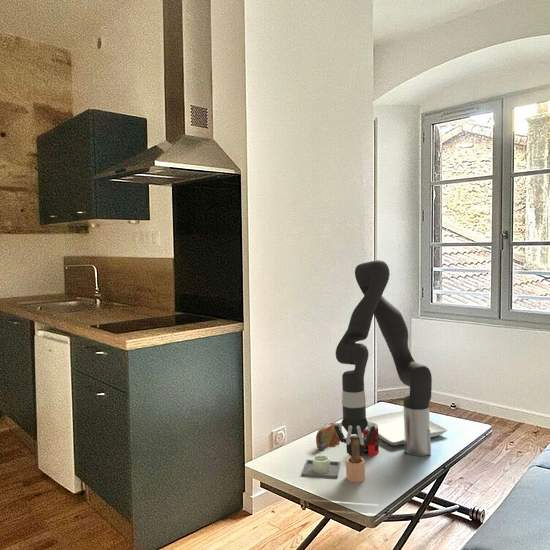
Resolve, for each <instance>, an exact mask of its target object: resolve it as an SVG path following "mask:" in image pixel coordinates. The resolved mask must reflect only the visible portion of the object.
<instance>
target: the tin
mask: <svg viewBox="0 0 550 550" xmlns="http://www.w3.org/2000/svg"><path fill="white" fill-rule="evenodd" d="M336 423H337V422H330V423H329V424H327V425H325V426H323V427H322V428H319V430H318V432H317V433H316V436H315V437H316V438H315V443H316V447H317V449H318V450H321V451H325V450H326V449H328V448H334V447H336V446H338V445H339V444H340V442H341V441H340V439H339V437H338V435H337V432H336V430H335V428H334V427H335V424H336ZM341 431H342V432H343V428H342V429H341Z"/></svg>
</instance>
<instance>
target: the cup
mask: <svg viewBox="0 0 550 550" xmlns="http://www.w3.org/2000/svg"><path fill="white" fill-rule="evenodd" d="M365 462H366V461H365V459H364V458H363V457H361V462H360V463H351V456H349V457H346V458H345V472H346V473H345V474H346V475H345V477H346V480H347V481H349V482H351V483H362V482H364V481H365V480H366V463H365Z"/></svg>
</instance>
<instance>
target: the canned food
mask: <svg viewBox="0 0 550 550" xmlns="http://www.w3.org/2000/svg"><path fill="white" fill-rule="evenodd" d="M368 423H369V424H371V425H372V424H374V425H375V431H374V433H373V436H372V438H371V440H370V443H367V444H365V453H364V454H363V457H364V456H366V457H371V456H372V457H373V456H377V455H378V454H379V450H380V449H379V447H380V446H379V445H380V443H379V437H378V425H377V424H376V423H372V422H368ZM368 433H369V431H368V427H366V428H365V430H364V431H363V436H364V439H365V438H367V436H368ZM357 436H358V435H357Z"/></svg>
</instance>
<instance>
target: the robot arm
mask: <svg viewBox="0 0 550 550" xmlns="http://www.w3.org/2000/svg"><path fill="white" fill-rule="evenodd" d="M390 273H391V272H390V268H389V265H388V264H387V263H386V262H385V261H384V260H382V259H381V260H380V259H376V260H371V261H366V262H363V263H360V264H358V265H357V266H355V270H354V276H355V280H356V283H357V285H358V287H359V289H360V291H361V293H362V295H363V297H362V299H360V301H359V302H358V303H357V305H356V307H355V308H354V310H353V311H352V314H351V316H350V320H349V322H348V325H347V329H346V330H345V332H344V334H343V336H342V337H341V339H340V340H339V342H338V344H337V346H336V348H335V357H336V360H337V361H338V363H340V364H342V365H350V366H354V369H353V370H351V369H350V370H346V371H344V372H343V373H342V375H341V381H342V384H341V386H342V387H341V389H342V394H341V399H342V400H341V404H342V406H341V407H342V420H341V422H339V423H337V422H335V423H336V424H335V427H334V428H335V430H336V432H337V435H338V437H339V439H340V442H341V443H344V444H345V446H346V447H345V448H346V454H347V455H348V456H351V441H350V438H351V436H353V435H358V436H359V439H360V456H361V457H364V455H363V454H364V453H365V444H367V443H370V440H371V438H372V436H373V433H374V431H375V425H374V424H372V425H371V424H369V423H368V422H367V420H366V418H367V411H366V409H367V407H366V393H365V374H366V373H365V372H366V367H367V363H368V360H369V355H370V354H369V349H368V347H367V346H366V345H365V344H364V343H361V342H362V341H365V340H366V339H367V338H368V337H369V332H370V329H371V326H372V325H371V324H372V321H373V319H374V318H375V320H376V323H377V325H378V327H379V330H380V332H381V335H382V337H383V339H384V341H385V342H386V345H387V348H388V350H389V352H390V354H391V356H392V360H393V362H394V366H395V369H396V373H397V375H398V379H399V380H400V381H401V383H402V384H404V385H405V386H407V387H409V395H406V396H405V397H404V398H403V402H402V403H403V411H404V442H405V444H403V445H404V451H405V453H406V454H409V455H411V456H415V457H424V456H428V455H429V456H431V455H432V444H431V440H432V439H431V438H432V437H430V421H431V420H430V419H431V418H430V401H431V400H432V390H433V389H432V384H433V382H432V381H433V378H432V371H431V370H430V369H429V367H428V366H426V365H424V364H421V363H418V362H416V361H415V359H414V358H413V356H412V354H411V351H410V349H409V345H408V344H409V329H408V326H407V323H406V321H405V319H404V317H403V315H402V312H401V311H400V310H398V308H397V307H395V306H394V305H393V304H392V303H391V302H390V301H388V300H387V299H386V298H385V297H384V296H383V294H384V292H385V290H386V287H387V285H388V282H389V279H390ZM373 317H374V318H373ZM357 342H358V343H357ZM359 342H360V343H359ZM366 427H368V431H369V433H368V436H367V438H365V439H364V436H363V431H364V430H365V428H366ZM343 428H344V430H345V431H346V432H347V434H346V437H345V435H344V433H343ZM341 429H342V431H341Z"/></svg>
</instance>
